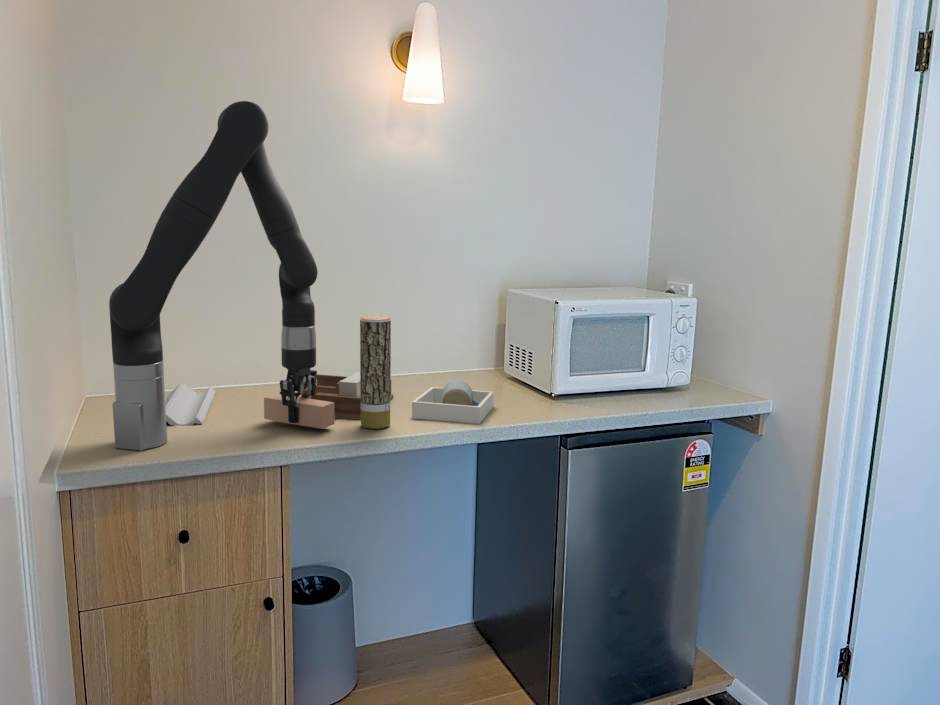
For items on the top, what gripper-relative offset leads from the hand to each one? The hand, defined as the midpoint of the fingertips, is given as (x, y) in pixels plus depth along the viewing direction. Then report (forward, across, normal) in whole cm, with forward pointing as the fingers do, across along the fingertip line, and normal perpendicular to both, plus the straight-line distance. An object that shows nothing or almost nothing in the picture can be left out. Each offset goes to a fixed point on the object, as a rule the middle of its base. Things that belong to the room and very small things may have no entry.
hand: (299, 419), depth 163 cm
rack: (+2, +21, 0) cm, 21 cm away
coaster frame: (+1, +23, -30) cm, 38 cm away
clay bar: (0, 0, 0) cm, 0 cm away
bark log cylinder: (+2, +6, -16) cm, 17 cm away
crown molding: (+3, +6, +34) cm, 35 cm away
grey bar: (-1, +21, -6) cm, 22 cm away
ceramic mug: (+2, +24, -32) cm, 40 cm away
